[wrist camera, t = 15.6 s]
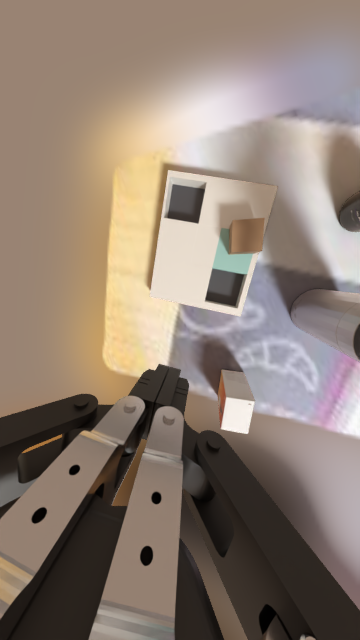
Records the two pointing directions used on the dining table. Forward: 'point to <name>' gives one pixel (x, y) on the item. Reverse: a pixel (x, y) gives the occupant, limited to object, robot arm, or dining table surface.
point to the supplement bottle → (351, 213)
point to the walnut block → (246, 236)
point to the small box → (235, 402)
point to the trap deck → (206, 240)
